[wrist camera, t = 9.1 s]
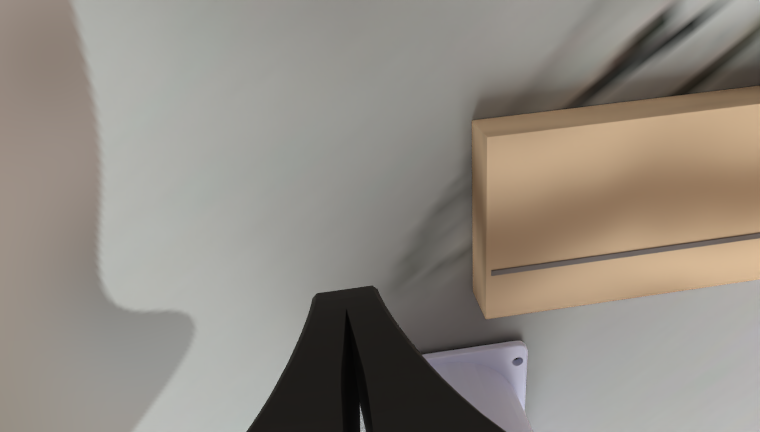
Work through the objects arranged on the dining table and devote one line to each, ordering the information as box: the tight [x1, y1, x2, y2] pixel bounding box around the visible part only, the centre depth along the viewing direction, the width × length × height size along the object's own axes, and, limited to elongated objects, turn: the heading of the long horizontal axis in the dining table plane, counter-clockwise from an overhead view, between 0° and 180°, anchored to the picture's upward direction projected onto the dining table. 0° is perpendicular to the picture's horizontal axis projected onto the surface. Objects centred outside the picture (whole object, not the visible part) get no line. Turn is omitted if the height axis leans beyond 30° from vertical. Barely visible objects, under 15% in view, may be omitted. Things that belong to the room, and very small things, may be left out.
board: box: [472, 86, 760, 319], centre depth 22 cm, size 8×21×2 cm, turn 95°
